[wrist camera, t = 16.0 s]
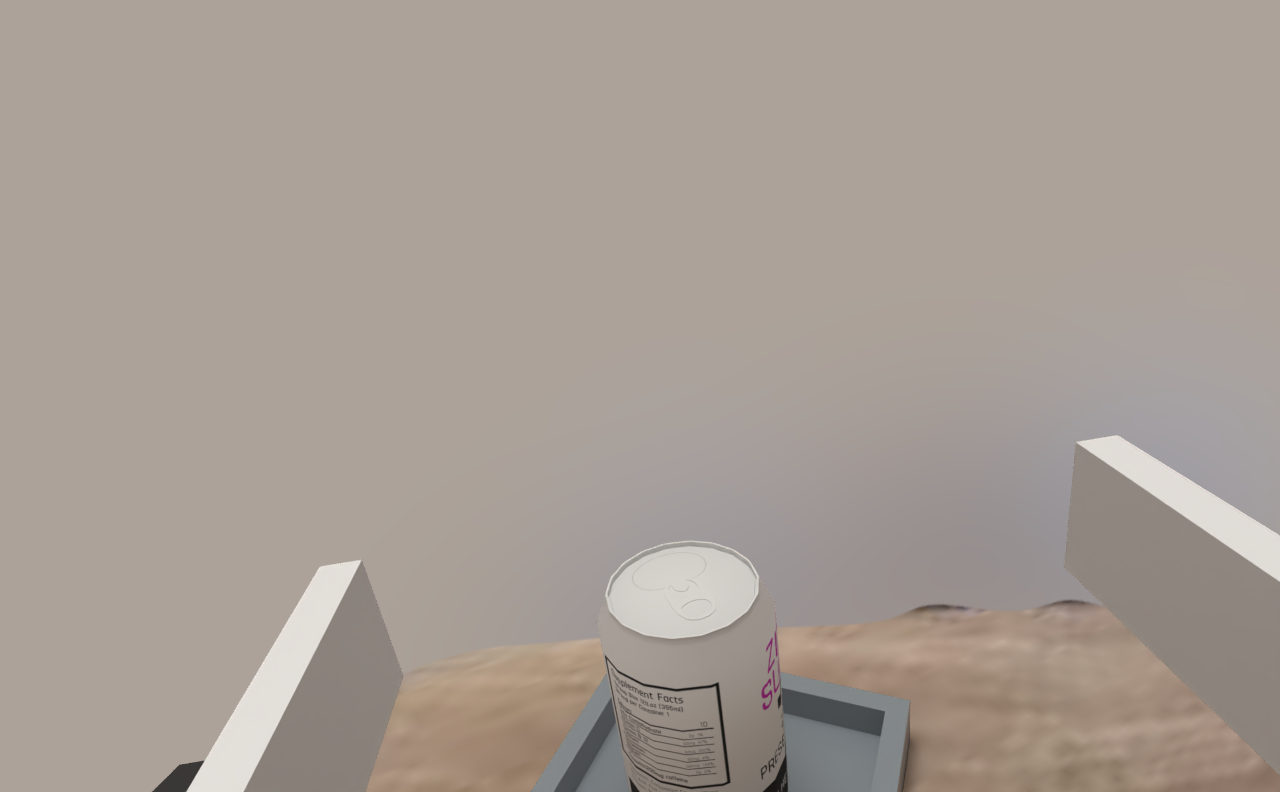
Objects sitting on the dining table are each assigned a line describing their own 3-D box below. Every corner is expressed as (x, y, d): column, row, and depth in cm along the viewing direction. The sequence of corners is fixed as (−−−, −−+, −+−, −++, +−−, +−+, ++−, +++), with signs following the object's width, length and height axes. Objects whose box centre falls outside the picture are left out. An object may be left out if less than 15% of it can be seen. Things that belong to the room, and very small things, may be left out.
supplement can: (615, 786, 40) (571, 566, 35) (744, 731, 43) (722, 517, 37) (671, 925, 33) (626, 676, 27) (823, 850, 35) (810, 606, 30)
